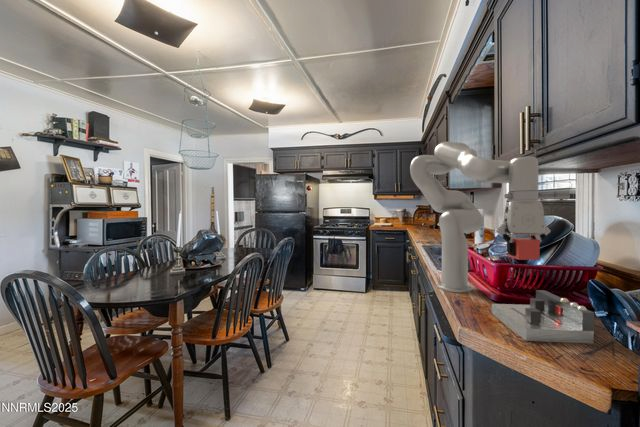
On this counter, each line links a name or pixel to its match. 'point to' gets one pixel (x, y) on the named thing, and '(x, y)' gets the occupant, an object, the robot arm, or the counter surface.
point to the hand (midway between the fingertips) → (522, 254)
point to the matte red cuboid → (527, 249)
